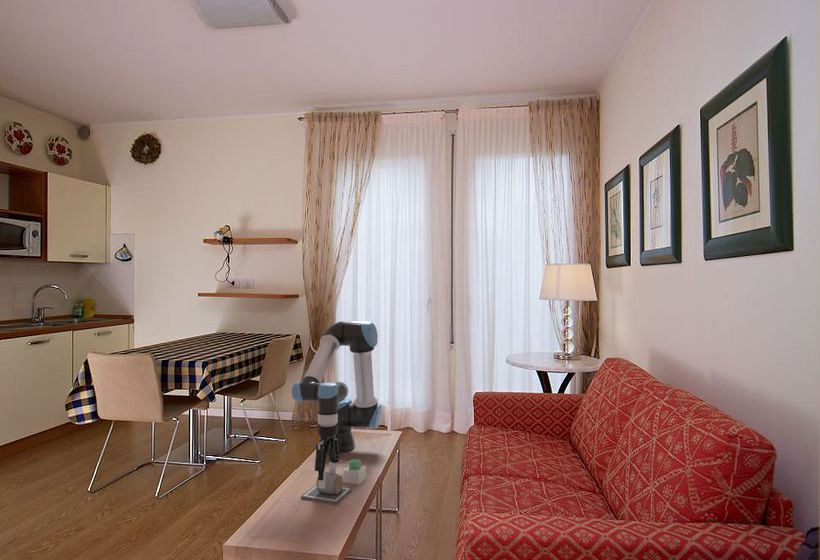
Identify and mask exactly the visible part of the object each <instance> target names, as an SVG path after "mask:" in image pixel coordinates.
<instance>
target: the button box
mask: <svg viewBox="0 0 820 560" xmlns="http://www.w3.org/2000/svg"><path fill="white" fill-rule="evenodd" d="M342 479H343V483H344V482H345V483H346V484H350V485H351V484H352V485H358V486H359V485H360V484H361V483H362V482H363V481H365V480H366V479H367V466H366V465H361V467H359V468H349V465H348V466H347V467H345V468H344V469H343V470H342Z"/></svg>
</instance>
